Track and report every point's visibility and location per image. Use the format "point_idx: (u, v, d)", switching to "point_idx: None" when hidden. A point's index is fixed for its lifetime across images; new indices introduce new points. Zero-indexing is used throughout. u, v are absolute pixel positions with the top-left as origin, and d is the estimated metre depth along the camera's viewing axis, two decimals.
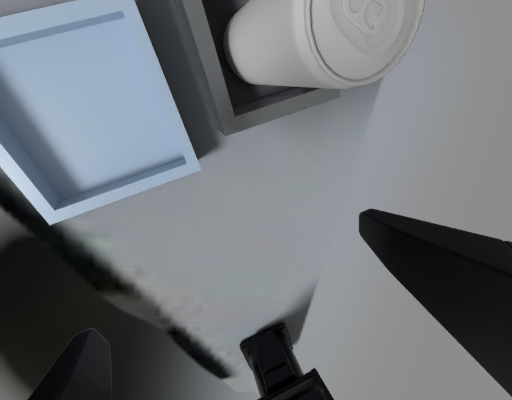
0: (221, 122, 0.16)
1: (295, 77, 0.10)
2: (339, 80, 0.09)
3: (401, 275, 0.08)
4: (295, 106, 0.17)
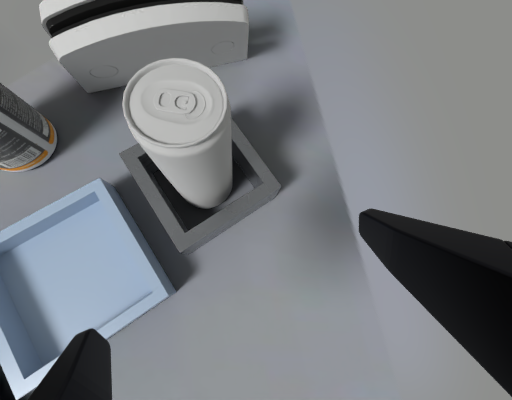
0: (173, 241, 0.18)
1: (170, 168, 0.12)
2: (171, 146, 0.10)
3: (401, 275, 0.08)
4: (240, 207, 0.19)
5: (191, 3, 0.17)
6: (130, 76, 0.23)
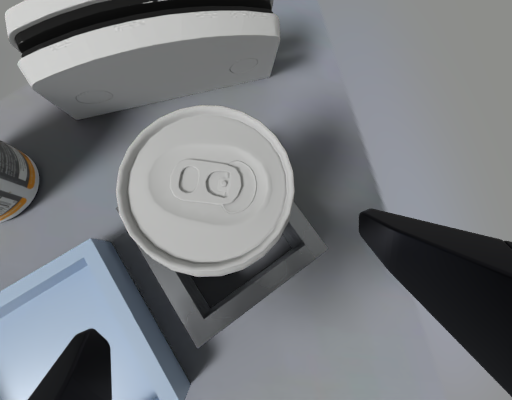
0: (189, 332, 0.13)
1: None
2: (202, 270, 0.06)
3: (401, 275, 0.08)
4: (276, 280, 0.14)
5: (209, 12, 0.13)
6: (127, 100, 0.18)
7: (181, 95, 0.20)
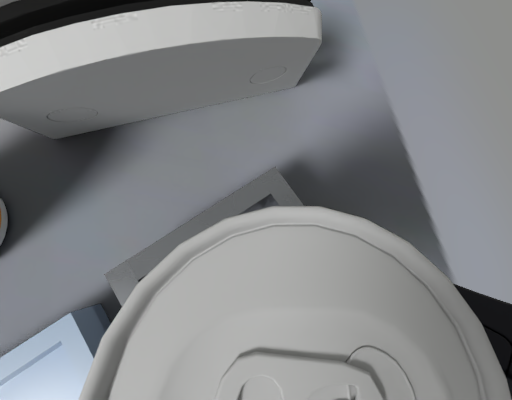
0: None
1: None
2: None
3: None
4: None
5: (231, 3, 0.09)
6: (118, 117, 0.14)
7: (186, 109, 0.16)
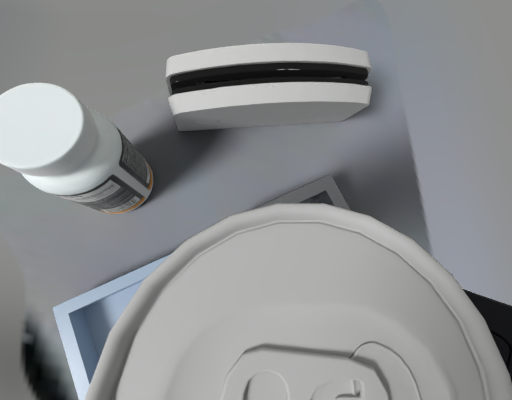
0: None
1: None
2: None
3: None
4: None
5: (324, 83, 0.16)
6: (225, 125, 0.22)
7: (266, 125, 0.24)
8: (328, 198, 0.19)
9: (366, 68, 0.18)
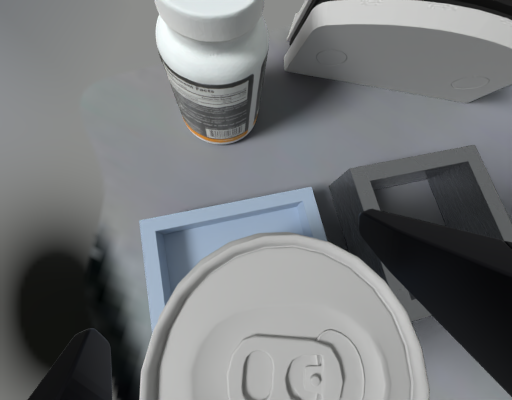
0: None
1: None
2: None
3: (401, 275, 0.08)
4: None
5: None
6: (343, 72, 0.19)
7: (382, 86, 0.21)
8: (467, 172, 0.16)
9: None
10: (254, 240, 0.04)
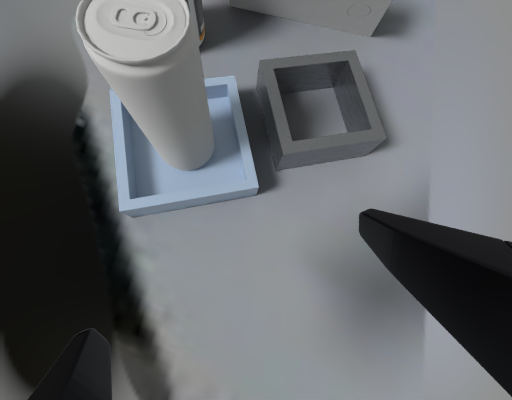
0: (281, 144, 0.20)
1: (134, 99, 0.12)
2: (127, 60, 0.10)
3: (401, 275, 0.08)
4: (345, 140, 0.20)
5: None
6: (269, 4, 0.26)
7: (303, 20, 0.27)
8: (348, 68, 0.22)
9: None
10: None
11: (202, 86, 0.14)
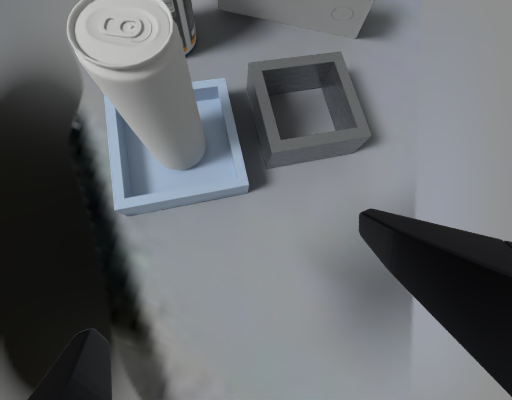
0: (269, 143, 0.20)
1: (124, 102, 0.12)
2: (114, 65, 0.10)
3: (401, 275, 0.08)
4: (331, 138, 0.21)
5: None
6: (256, 7, 0.27)
7: (290, 22, 0.28)
8: (334, 69, 0.23)
9: None
10: None
11: (189, 88, 0.14)
